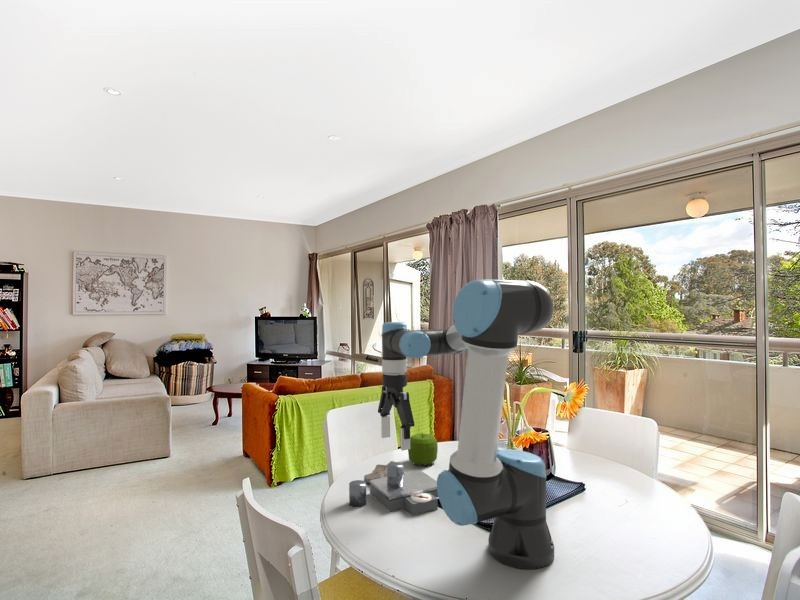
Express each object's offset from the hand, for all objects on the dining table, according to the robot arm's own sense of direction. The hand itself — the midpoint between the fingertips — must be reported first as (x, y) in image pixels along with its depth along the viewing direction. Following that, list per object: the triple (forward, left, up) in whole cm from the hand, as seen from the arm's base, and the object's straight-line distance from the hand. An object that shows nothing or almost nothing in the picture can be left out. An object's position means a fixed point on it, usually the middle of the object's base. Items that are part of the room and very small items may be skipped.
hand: (395, 443), depth 138 cm
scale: (-3, -3, -17) cm, 17 cm away
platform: (0, -4, -13) cm, 14 cm away
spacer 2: (0, 0, -13) cm, 13 cm away
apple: (+23, -22, -17) cm, 36 cm away
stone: (+16, -3, -17) cm, 24 cm away
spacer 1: (+2, +12, -17) cm, 20 cm away
